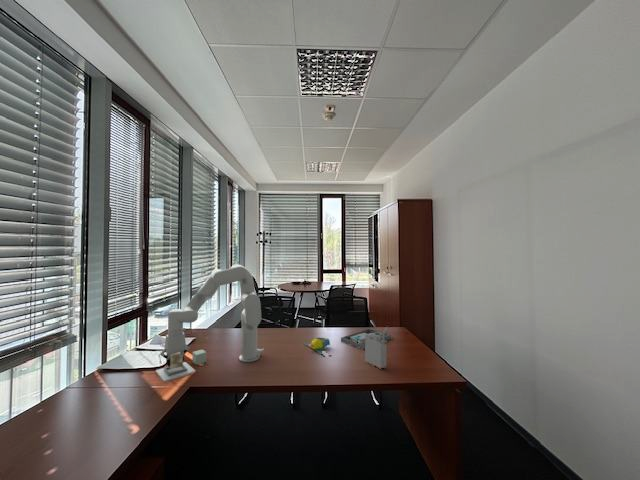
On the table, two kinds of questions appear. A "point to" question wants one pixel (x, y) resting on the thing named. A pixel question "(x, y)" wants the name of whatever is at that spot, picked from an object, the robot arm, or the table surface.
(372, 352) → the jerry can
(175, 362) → the maple block
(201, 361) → the sage block
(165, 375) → the baseplate
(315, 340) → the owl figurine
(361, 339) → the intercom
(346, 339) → the desk tray
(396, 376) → the table surface
